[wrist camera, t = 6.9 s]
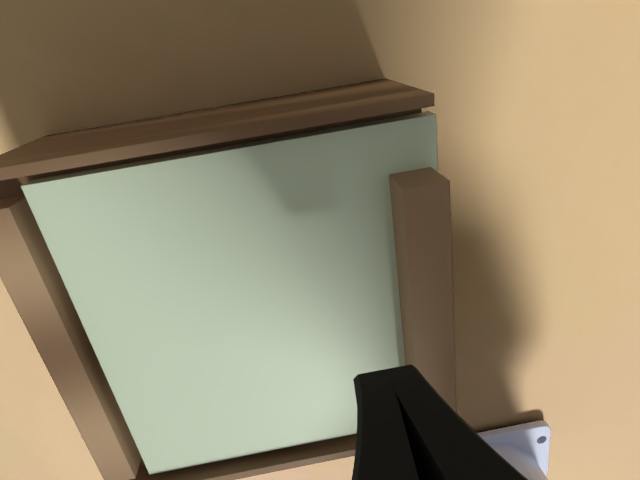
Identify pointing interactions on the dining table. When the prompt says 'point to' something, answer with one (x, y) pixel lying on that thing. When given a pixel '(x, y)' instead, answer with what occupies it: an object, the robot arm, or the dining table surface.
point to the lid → (258, 283)
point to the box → (132, 146)
